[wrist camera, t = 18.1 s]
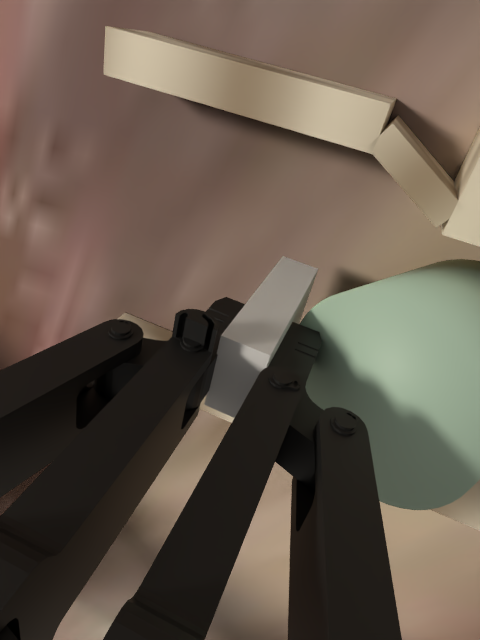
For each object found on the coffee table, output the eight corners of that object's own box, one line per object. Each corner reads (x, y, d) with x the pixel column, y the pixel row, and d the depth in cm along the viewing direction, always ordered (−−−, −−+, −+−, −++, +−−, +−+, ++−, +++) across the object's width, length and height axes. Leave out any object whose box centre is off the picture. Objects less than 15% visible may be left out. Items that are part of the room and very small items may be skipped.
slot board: (123, 334, 26) (79, 372, 23) (149, 31, 18) (87, 23, 15) (539, 507, 22) (558, 584, 19) (817, 212, 14) (939, 257, 10)
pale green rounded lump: (360, 358, 22) (269, 401, 18) (428, 226, 18) (327, 247, 14) (493, 469, 18) (412, 551, 14) (620, 333, 14) (551, 401, 10)
